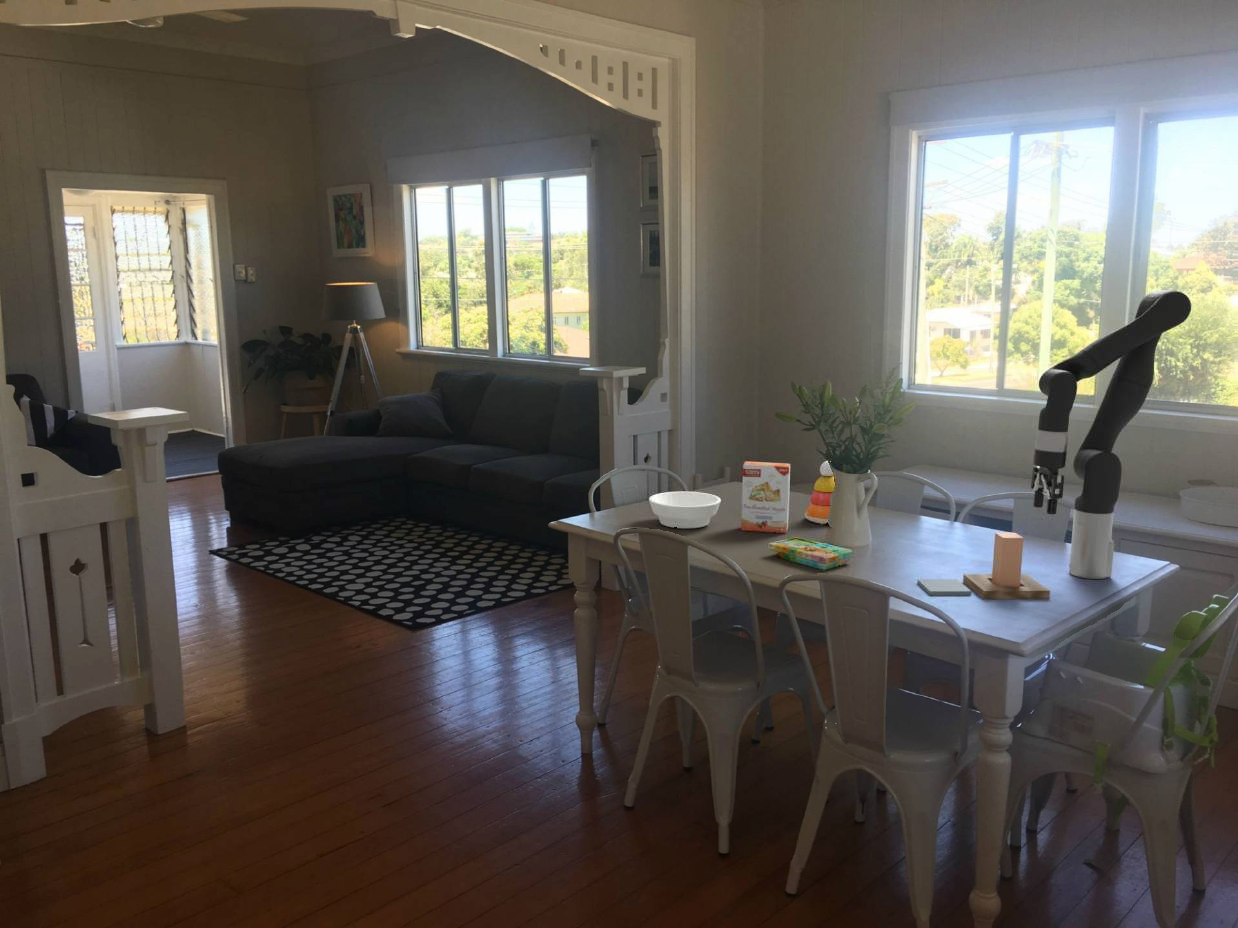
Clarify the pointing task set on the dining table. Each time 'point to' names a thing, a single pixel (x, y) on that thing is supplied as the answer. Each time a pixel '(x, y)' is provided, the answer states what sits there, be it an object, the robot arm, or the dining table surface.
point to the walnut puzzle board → (1006, 588)
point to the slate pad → (943, 587)
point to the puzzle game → (811, 552)
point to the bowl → (684, 508)
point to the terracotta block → (1007, 559)
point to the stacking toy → (821, 496)
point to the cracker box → (765, 497)
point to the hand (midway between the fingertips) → (1044, 510)
